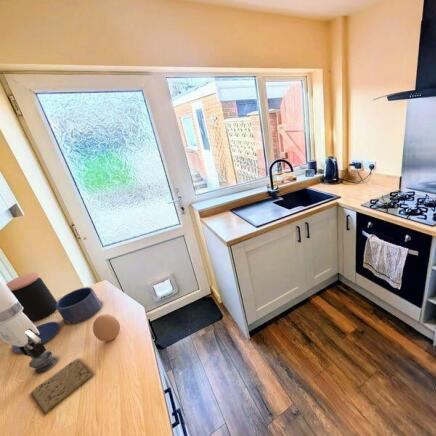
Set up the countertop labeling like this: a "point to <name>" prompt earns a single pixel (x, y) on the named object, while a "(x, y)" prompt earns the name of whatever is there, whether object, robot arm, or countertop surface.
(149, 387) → the countertop surface
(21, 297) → the coffee jar
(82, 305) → the tin
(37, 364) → the grey tall lumpy piece
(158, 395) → the countertop surface
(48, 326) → the tin lid
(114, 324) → the egg
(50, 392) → the pitted brown brick
